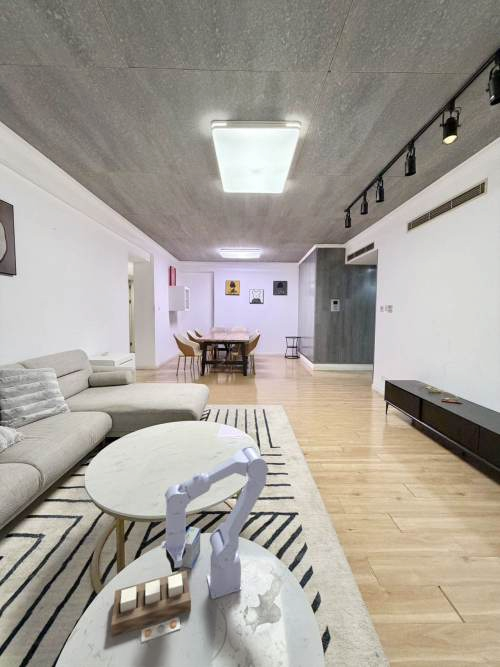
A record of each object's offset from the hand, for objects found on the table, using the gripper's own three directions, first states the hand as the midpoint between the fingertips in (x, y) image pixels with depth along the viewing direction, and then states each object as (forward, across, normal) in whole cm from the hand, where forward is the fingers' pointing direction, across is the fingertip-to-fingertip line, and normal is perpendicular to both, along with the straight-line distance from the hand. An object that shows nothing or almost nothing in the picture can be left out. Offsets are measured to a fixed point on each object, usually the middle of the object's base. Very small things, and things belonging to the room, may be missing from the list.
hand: (175, 569), depth 86 cm
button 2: (+7, 0, 0) cm, 7 cm away
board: (+9, 0, -6) cm, 11 cm away
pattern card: (+9, +8, -4) cm, 13 cm away
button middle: (+7, 0, -6) cm, 9 cm away
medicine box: (+10, -13, +6) cm, 17 cm away
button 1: (+7, 0, -13) cm, 15 cm away
